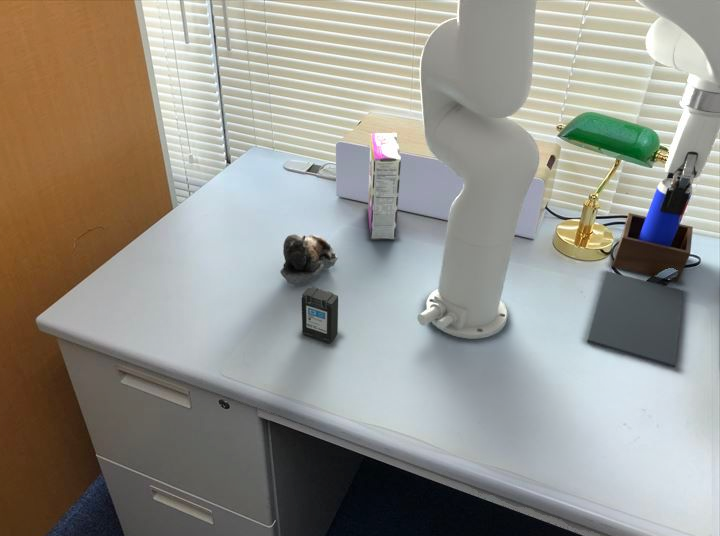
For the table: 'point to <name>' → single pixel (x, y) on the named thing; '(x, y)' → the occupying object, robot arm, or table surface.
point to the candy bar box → (383, 185)
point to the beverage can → (661, 219)
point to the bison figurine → (306, 258)
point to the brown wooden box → (651, 250)
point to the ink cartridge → (319, 314)
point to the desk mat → (638, 318)
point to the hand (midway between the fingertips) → (672, 199)
